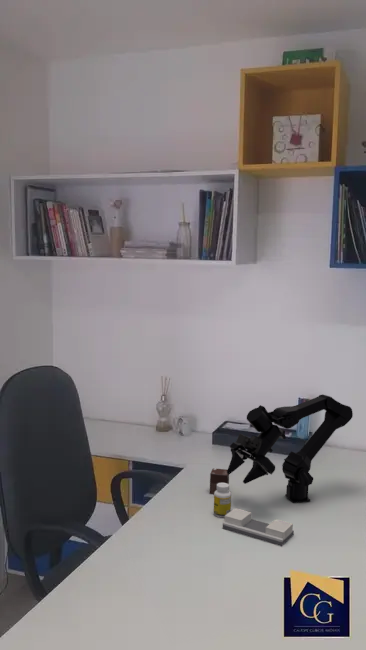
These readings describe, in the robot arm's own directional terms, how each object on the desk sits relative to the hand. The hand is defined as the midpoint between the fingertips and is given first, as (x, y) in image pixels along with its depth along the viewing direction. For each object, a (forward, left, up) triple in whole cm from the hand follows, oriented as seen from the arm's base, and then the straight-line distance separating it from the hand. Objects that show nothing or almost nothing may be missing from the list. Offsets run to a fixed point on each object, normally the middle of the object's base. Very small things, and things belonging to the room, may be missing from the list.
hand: (235, 478), depth 194 cm
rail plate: (-1, +15, -11) cm, 19 cm away
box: (-1, -17, -11) cm, 21 cm away
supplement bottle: (+5, +1, -11) cm, 12 cm away
